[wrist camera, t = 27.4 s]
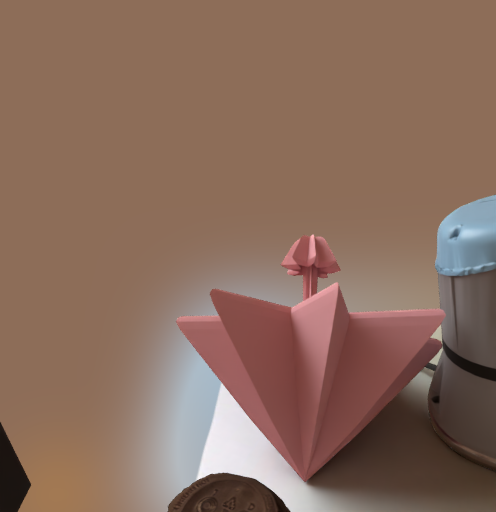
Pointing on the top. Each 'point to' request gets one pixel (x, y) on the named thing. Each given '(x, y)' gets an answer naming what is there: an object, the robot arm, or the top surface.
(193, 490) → the coffee cup
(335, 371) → the sculpture
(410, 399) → the top surface
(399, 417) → the top surface
